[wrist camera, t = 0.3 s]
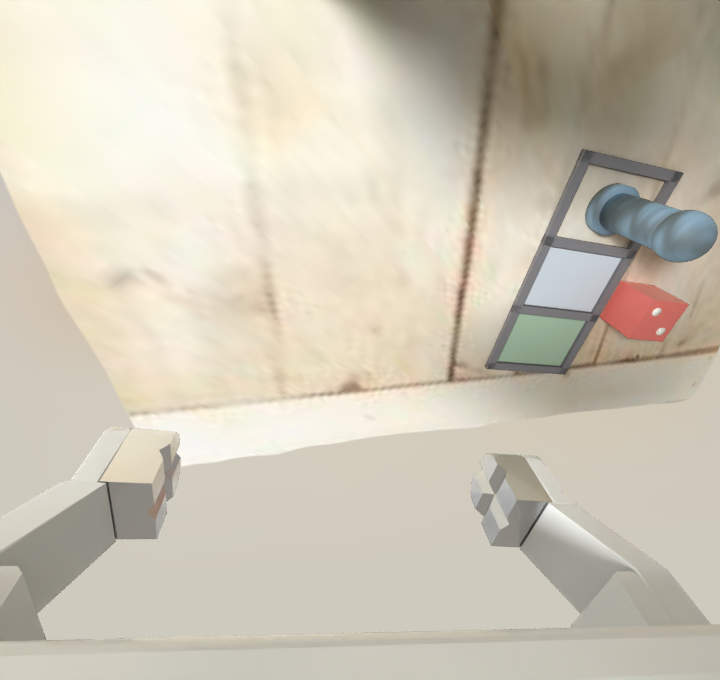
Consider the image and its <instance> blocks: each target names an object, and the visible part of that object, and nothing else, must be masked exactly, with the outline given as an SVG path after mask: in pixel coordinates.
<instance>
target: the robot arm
mask: <svg viewBox="0 0 720 680" xmlns="http://www.w3.org/2000/svg"><path fill="white" fill-rule="evenodd" d="M179 445H180V439H179V433H177V432H170V431H160V430H149V429H138V428H133V429H132V428H122V427H109V428H108V429H106V430H105V431H104V432H103V434H102V435H101V437H100V438H99V440H98V441H97V443H96V444H95V445H94V447H93V448H92V450H91V451H90V453H89V454H88V456H87V457H86V459H85V460H84V462H83V463H82V465H81V466H80V467H79V469H78V470H77V472H76V473H75V475H74V476H73V478H72V479H71V481H61V482H60V483H58V484H56V485H55V486H53V487H51V488H50V489H48V490H46V491H44V492H43V493H41V494H39V495H38V496H36V497H34V498H32V499H31V500H29V501H27V502H25V503H24V504H22V505H20V506H18V507H17V508H15V509H13V510H12V511H10V512H9V513H6V514H5V515H3V516H1V517H0V680H720V624H718V625H711V624H710V623H709V621H708V620H707V619H706V617H705V616H704V615H703V614H702V613H701V611H700V610H699V609H698V607H697V606H696V605H695V604H694V602H693V601H692V600H691V598H690V597H689V596H688V595H687V594H686V592H685V591H684V590H683V588H682V587H681V586H680V585H679V583H678V582H677V581H676V580H675V578H674V577H673V576H672V574H670V572H669V571H668V570H667V569H666V568H664V567H663V566H662V565H660V564H659V563H657V562H656V561H655V560H653V559H652V558H650V557H649V556H648V555H646V554H645V553H643V552H642V551H641V550H639V549H638V548H636V547H635V546H634V545H633V544H631V543H630V542H628V541H627V540H626V539H624V538H623V537H621V536H620V535H619V534H617V533H616V532H615V531H613V530H612V529H610V528H609V527H608V526H606V525H605V524H603V523H602V522H601V521H599V520H598V519H597V518H595V517H594V516H592V515H591V514H590V513H588V512H587V511H586V510H584V509H583V508H581V507H580V506H579V505H577V504H572V503H571V502H570V501H569V499H568V498H567V496H566V495H565V493H564V492H563V491H562V489H561V488H560V486H559V485H558V483H557V482H556V480H555V479H554V477H553V476H552V474H551V473H550V472H549V470H548V469H547V467H546V466H545V464H544V463H543V461H542V460H541V459H540V458H539V457H537V456H529V455H528V456H527V455H509V454H492V453H487V454H486V455H484V456H483V458H482V460H481V462H480V464H481V467H482V469H481V470H480V471H479V472H477V473H476V474H475V475H474V477H473V479H472V482H471V497H472V501H473V504H474V506H475V509H477V511H479V512H480V513H481V514H482V515H483V520H482V525H483V528H484V530H485V533H486V535H487V537H488V540H489V542H490V544H491V546H504V547H521V548H520V550H521V551H522V552H523V553H524V554H525V555H526V556H527V557H528V558H529V559H530V560H531V561H532V562H533V564H535V566H536V567H537V568H538V569H539V570H540V571H541V572H542V573H543V574H544V575H545V576H546V577H547V578H548V580H549V581H550V582H551V583H552V584H553V585H554V586H555V587H556V588H557V589H558V590H559V591H560V592H561V593H562V594H563V596H564V597H565V598H566V599H567V600H568V601H569V602H570V603H571V604H572V605H573V606H574V607H575V608H576V610H577V611H578V612H579V613H580V615H579V616H578V617H577V619H576V620H575V621H574V622H573V624H572V625H571V627H570V628H547V629H508V630H507V629H504V630H462V631H461V630H460V631H417V632H416V631H414V632H372V633H336V634H335V633H334V634H333V633H332V634H290V635H247V636H207V637H206V636H203V637H161V638H119V639H76V640H46V638H45V635H44V632H43V629H42V627H41V624H40V622H39V618H38V616H37V613H38V612H39V611H41V609H43V608H44V607H45V606H46V605H47V604H48V603H49V602H50V601H51V600H52V599H53V598H54V597H56V596H57V595H58V594H59V593H60V592H61V591H62V590H63V589H65V588H66V586H68V585H69V584H70V583H71V582H72V581H73V580H74V579H75V578H77V577H78V575H80V574H81V573H82V572H83V571H84V570H85V569H86V568H87V567H89V566H90V565H91V564H92V563H93V562H94V561H95V560H96V559H97V558H98V557H99V556H101V554H103V553H104V552H105V551H106V550H107V549H108V548H109V547H110V546H111V545H112V544H114V543H115V542H116V541H115V539H157V537H158V535H159V532H160V529H161V527H162V524H163V521H164V519H165V516H166V514H167V507H166V502H167V501H168V500H169V499H170V498H172V497H173V495H174V492H175V490H176V487H177V483H178V479H179V474H180V457H179V455H178V454H177V453H176V452H177V450H178V447H179Z"/></svg>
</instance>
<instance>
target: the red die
mask: <svg viewBox="0 0 720 680" xmlns="http://www.w3.org/2000/svg"><path fill="white" fill-rule="evenodd" d="M688 305H689V304H687V303H685V302H684V301H682V300H680V299H678V298H676V297H674V296H672V295H671V294H669V293H667V292H665V291H663V290H661V289H659V288H658V287H656V286H654V285H647V284H640V283H633V282H626V281H621V282H620V283H619V285H618V287H617V288H616V290H615V292H614V294H613V295H612V297H611V299H610V300H609V302H608V304H607V305H606V307H605V309H604V310H603V312H602V314H601V316H600V318H602V319H603V320H604V321H606V322H607V323H608V324H610V325H611V326H613V327H614V328H615V329H617V330H618V331H619V332H621V333H622V334H623V335H625V336H626V337H627V338H631V339H640V340H650V341H660V342H663V340H664V339H665V337H666V336H667V335H668V333H669V332H670V330H671V329H672V328H673V326H674V325H675V323H676V322H677V321H678V319H679V318H680V316H681V315H682V314H683V312H684V311H685V309H686V308H687V307H688Z"/></svg>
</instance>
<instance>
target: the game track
mask: <svg viewBox="0 0 720 680" xmlns="http://www.w3.org/2000/svg"><path fill="white" fill-rule="evenodd" d="M589 163H590V164H595V165H599V166H604V167H608V168H613V169H617V170H621V171H626V172H630V173H635V174H639V175H643V176H648V177H652V178H657V179H661V180H666V182H665V183H664V185H663V187H662V189H661V190H660V192H659V194H658V196H657V197H656V199H655V201H654V202H656V203H659V204H662V205H665V204H666V202H667V200H668V199H669V197H670V195H671V194H672V192H673V190H674V189H675V187H676V185H677V183H678V182H679V180H680V178H681V177H682V175H683V173H682V172H677V171H673V170H669V169H665V168H660V167H656V166H652V165H648V164H643V163H639V162H635V161H631V160H626V159H622V158H618V157H614V156H609V155H605V154H601V153H597V152H592V151H588V150H584V149H583V150H582V152H581V154H580V156H579V158H578V161H577V163H576V165H575V167H574V170H573V172H572V174H571V176H570V178H569V181H568V183H567V185H566V187H565V190H564V192H563V194H562V196H561V199H560V201H559V203H558V205H557V207H556V210H555V212H554V214H553V216H552V219H551V221H550V223H549V225H548V227H547V230H546V232H545V234H544V236H543V239H542V241H541V243H540V245H539V248H538V250H537V252H536V254H535V256H534V259H533V261H532V263H531V265H530V268H529V270H528V272H527V274H526V277H525V279H524V281H523V283H522V285H521V288H520V290H519V292H518V294H517V297H516V299H515V301H514V303H513V305H512V308H511V310H510V312H509V314H508V317H507V319H506V321H505V323H504V326H503V328H502V330H501V332H500V334H499V337H498V339H497V341H496V343H495V346H494V348H493V350H492V352H491V354H490V357H489V359H488V361H487V363H486V366H485V367H486V369H495V370H509V371H524V372H538V373H552V374H565V373H566V372H567V370H568V368H569V367H570V365H571V363H572V362H573V360H574V358H575V356H576V355H577V353H578V351H579V350H580V348H581V346H582V345H583V343H584V341H585V340H586V338H587V336H588V334H589V333H590V331H591V329H592V328H593V326H594V324H595V323H596V321H597V319H598V317H599V316H600V314H601V312H602V311H603V309H604V307H605V306H606V304H607V302H608V301H609V299H610V297H611V295H612V294H613V292H614V290H615V289H616V287H617V285H618V284H619V282H620V280H621V278H622V277H623V275H624V273H625V272H626V270H627V268H628V267H629V265H630V263H631V261H632V260H633V258H634V256H635V255H636V253H637V251H638V250H639V248H640V246H641V244H639V243H637V242H634V241H631V243H630V245H629V246H628V248H623V247H617V246H611V245H605V244H599V243H593V242H587V241H581V240H575V239H570V238H564V237H558V236H556V234H557V232H558V230H559V228H560V225H561V223H562V221H563V219H564V217H565V215H566V213H567V210H568V208H569V206H570V204H571V202H572V200H573V198H574V195H575V193H576V191H577V189H578V187H579V185H580V182H581V180H582V178H583V176H584V174H585V172H586V170H587V167H588V165H589ZM551 246H553V247H551ZM557 247H559V248H557ZM563 248H566V249H563ZM569 249H572V250H569ZM575 250H578V251H575ZM582 251H584V252H582ZM588 252H590V253H588ZM594 253H597V254H594ZM600 254H603V255H600ZM607 255H609V256H607ZM613 256H615V257H613ZM619 257H622V258H619ZM524 304H528V305H524ZM533 305H536V306H533ZM541 306H545V307H541ZM550 307H554V308H550ZM558 308H562V309H558ZM567 309H571V310H567ZM575 310H579V311H575ZM584 311H588V312H584ZM502 361H503V362H502Z"/></svg>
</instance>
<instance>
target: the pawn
mask: <svg viewBox="0 0 720 680" xmlns="http://www.w3.org/2000/svg"><path fill="white" fill-rule="evenodd" d="M585 220H586V224H587V226H588V227H589V228H590V229H591V230H593V231H595V232H597V233H599V234H601V235H606V236H608V235H613V234H619V235H621V236H623V237H625V238H628V239H630V240H632V241H634V242H637V243H639V244H641V245H643V246H646V247H648V248H650V249H652V250H654V251H655V252H656V254H657V255H658V256H660V257H661V258H663V259H665V260H667V261H670V262H688V261H692V260H695V259H697V258H699V257H701V256H703V255H704V254H705V253H707V252H708V251H709V250H710V249H711V248H712V246H713V245H714V243H715V241H716V238H717V234H718V231H717V226H716V223H715V222H714V220H713V219H712V218H711V217H710V216H709V215H707V214H705V213H703V212H700V211H696V210H684V211H682V210H678V209H675V208H672V207H669V206H665V205H662V204H659V203H656V202H653V201H649V200H646V199H643V198H640V195H639V193H638V191H637V190H636V189H635V188H633V187H630V186H627V185H623V184H618V183H617V184H611V185H608V186H606V187H604V188H603V189H601V190H600V191H599V192H598V193H597V194H596V195H595V196H594V197H593V198H592V200H591V201H590V203H589V205H588V207H587V210H586V215H585Z"/></svg>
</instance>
